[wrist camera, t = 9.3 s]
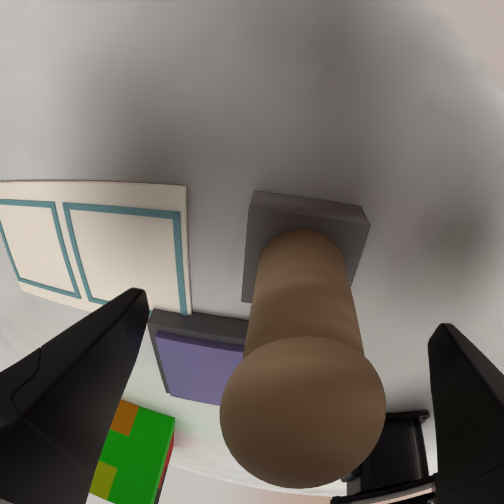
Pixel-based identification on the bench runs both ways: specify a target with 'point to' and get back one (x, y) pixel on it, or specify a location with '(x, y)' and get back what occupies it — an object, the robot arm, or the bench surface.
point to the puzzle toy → (134, 456)
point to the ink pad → (196, 352)
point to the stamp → (302, 347)
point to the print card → (98, 241)
